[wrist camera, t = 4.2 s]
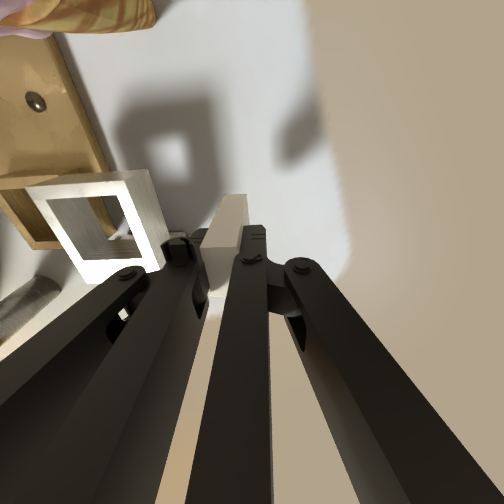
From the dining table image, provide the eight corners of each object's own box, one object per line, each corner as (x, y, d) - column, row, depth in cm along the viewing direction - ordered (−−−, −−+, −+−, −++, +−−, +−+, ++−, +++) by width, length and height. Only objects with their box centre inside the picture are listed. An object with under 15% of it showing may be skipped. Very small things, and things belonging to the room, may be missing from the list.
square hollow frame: (134, 291, 25) (102, 335, 20) (71, 167, 18) (-5, 189, 13) (216, 289, 25) (205, 334, 20) (188, 158, 17) (156, 178, 12)
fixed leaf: (42, 235, 22) (13, 250, 19) (-87, 49, 14) (-162, 35, 12) (134, 230, 21) (117, 246, 19) (51, 31, 13) (3, 13, 11)
